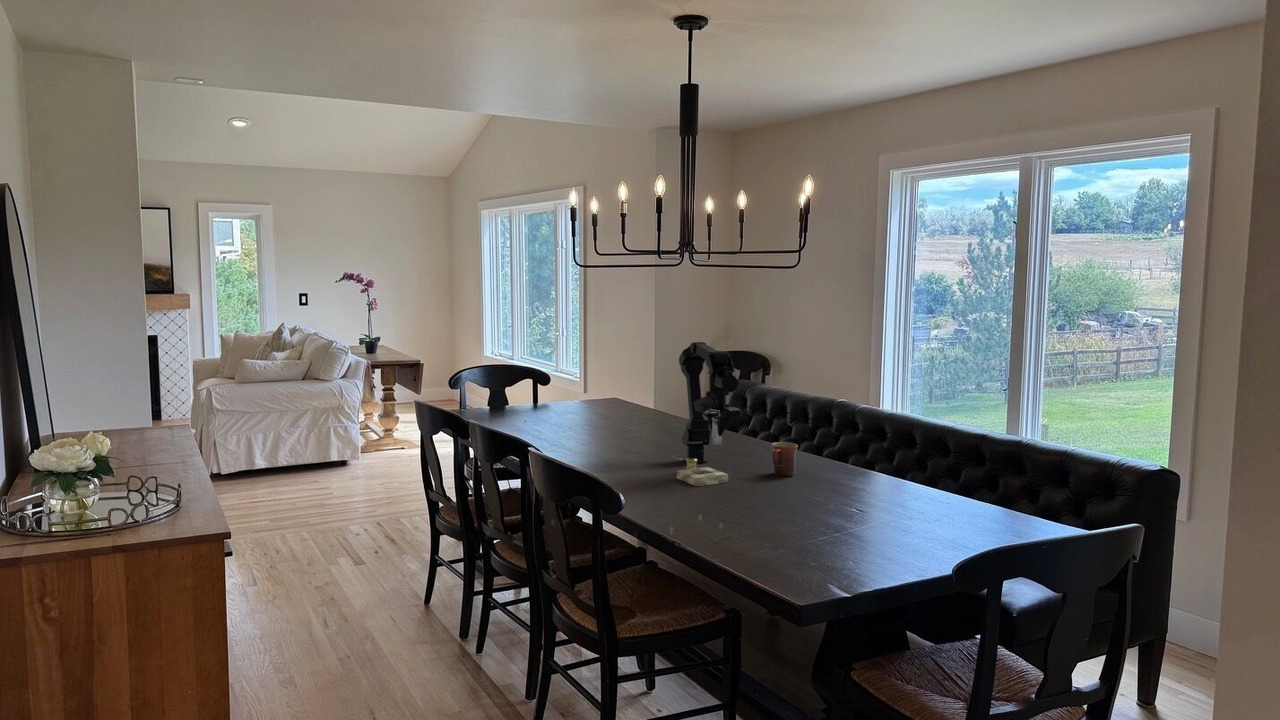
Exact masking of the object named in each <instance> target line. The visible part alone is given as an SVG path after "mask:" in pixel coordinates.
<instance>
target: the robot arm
mask: <svg viewBox="0 0 1280 720" xmlns="http://www.w3.org/2000/svg"><path fill="white" fill-rule="evenodd" d="M704 364H705V365H706V366H707V367H708V371H707V372H708V373H707V374H708V375H709V378H708V379H709V382H708V387H709V388H708V390H706V391H705V396H703V397H702V391H701V390H702V389H701V377H700V376H701V374H702V372H703V369H704ZM678 365H679V366H680V370H681V373H682V374H683V376H684V377H685V379H686V389H687V391H686V392H687V400H688V402H687V403H688V411H689V414H688V416H689V419H688V421H687V423H685V424H686V425H685V430H684V433H683V435H682V437H681V442H682V445H684V446H686V458H697V462H696V464H702V463H703V464H704V463H708V460H706V459H705V446H709V445H710V440H711V436H712V417H715V418H716V420H717V424H718V436H722V437H723V434H724V432H725V429H726V428H727V426H728V424H729V422H730V421H731V419H732V418H740V417H741V416H742V411H741V409H740V408H739V407H735V406H729V405H730V404H729V403H727V396H729V395H730V393H733V392H735V391H736V390H737V388H738V386H739V380H738V379H737V377H736V376H735V375H733V373H735V365H734V362H733V361H732V357H731V354H729V352H728V351H727V350H716V349H715V348H713V347H712V346H710V345H708V344H707V343H706V342H704V341H694V342H691V343H690V345H689V346H688V347H686V348H684V349H683V350H682V351H681V353H680V355H679V357H678ZM686 458H682V460H683V462H686Z"/></svg>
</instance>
